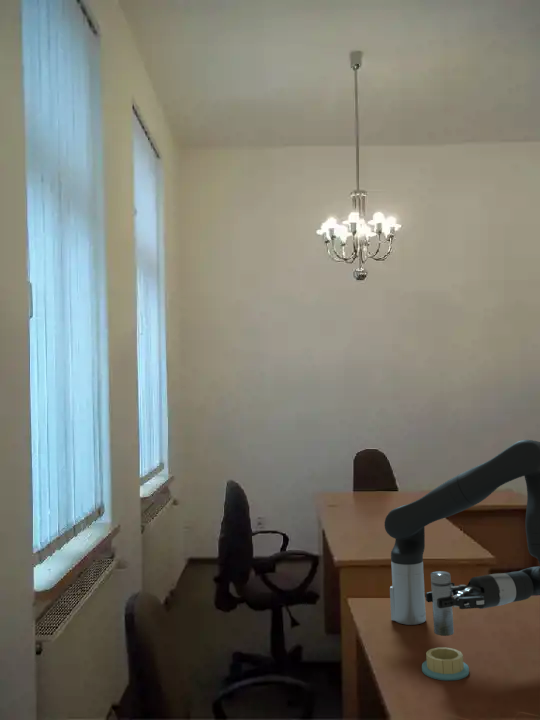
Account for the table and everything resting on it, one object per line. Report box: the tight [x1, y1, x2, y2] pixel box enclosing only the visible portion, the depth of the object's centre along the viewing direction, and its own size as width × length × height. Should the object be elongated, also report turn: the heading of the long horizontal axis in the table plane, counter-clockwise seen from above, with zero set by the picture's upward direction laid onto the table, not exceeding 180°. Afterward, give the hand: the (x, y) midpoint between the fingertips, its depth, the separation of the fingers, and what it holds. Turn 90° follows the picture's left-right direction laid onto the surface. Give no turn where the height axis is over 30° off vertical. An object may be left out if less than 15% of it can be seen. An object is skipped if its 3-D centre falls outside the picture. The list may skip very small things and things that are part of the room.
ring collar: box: [421, 646, 470, 682], centre depth 169 cm, size 11×11×4 cm
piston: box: [430, 570, 455, 637], centre depth 170 cm, size 5×5×14 cm
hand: (432, 600), depth 169 cm, fingers closed on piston, 4 cm apart
